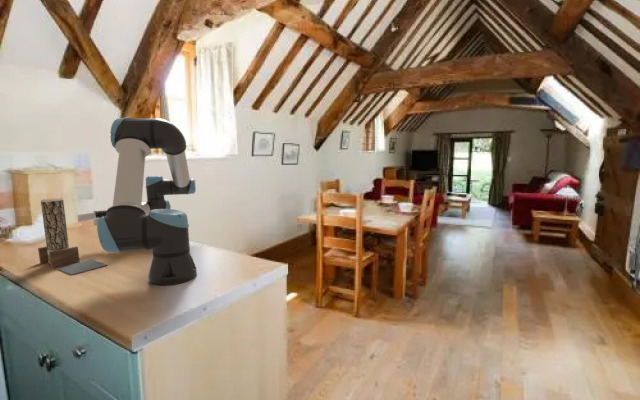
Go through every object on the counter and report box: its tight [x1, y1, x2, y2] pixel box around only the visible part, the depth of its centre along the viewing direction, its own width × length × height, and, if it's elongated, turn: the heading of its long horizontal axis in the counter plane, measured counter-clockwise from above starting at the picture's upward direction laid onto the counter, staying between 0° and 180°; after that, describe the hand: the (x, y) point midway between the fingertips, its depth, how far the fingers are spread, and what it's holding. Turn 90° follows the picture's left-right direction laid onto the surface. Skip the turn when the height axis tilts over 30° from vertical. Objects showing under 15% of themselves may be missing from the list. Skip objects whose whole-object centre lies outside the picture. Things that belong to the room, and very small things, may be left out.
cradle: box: [37, 245, 81, 269], centre depth 136 cm, size 11×9×6 cm
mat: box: [56, 259, 108, 276], centre depth 131 cm, size 12×12×1 cm
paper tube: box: [40, 197, 70, 265], centre depth 135 cm, size 7×7×25 cm
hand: (86, 220), depth 144 cm, fingers open, 13 cm apart
